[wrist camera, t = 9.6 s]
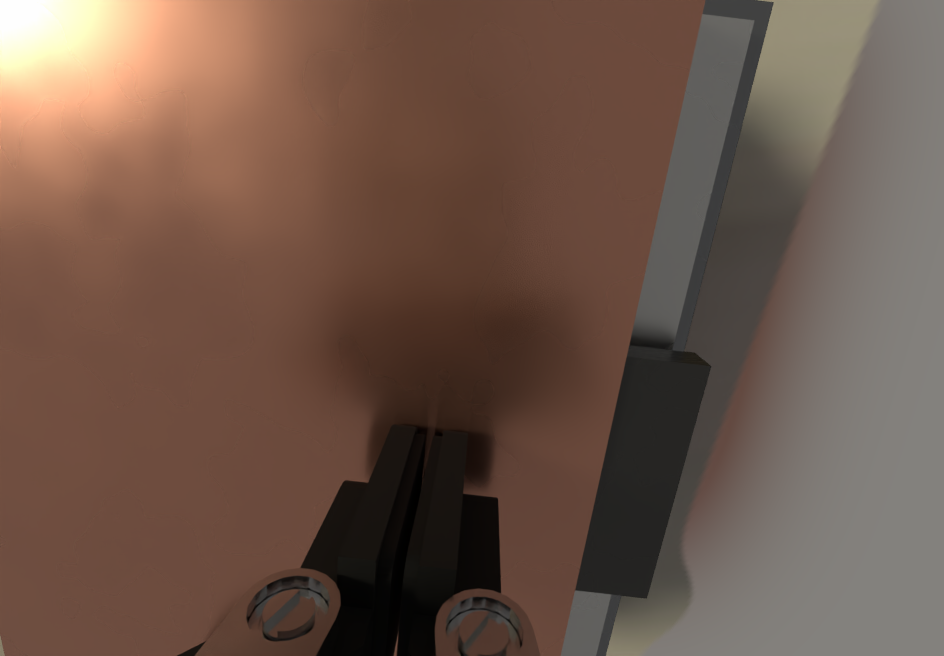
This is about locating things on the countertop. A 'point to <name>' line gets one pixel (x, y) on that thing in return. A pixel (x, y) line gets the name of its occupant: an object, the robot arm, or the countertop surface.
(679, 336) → the cooker base
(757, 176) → the countertop surface
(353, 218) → the lid
